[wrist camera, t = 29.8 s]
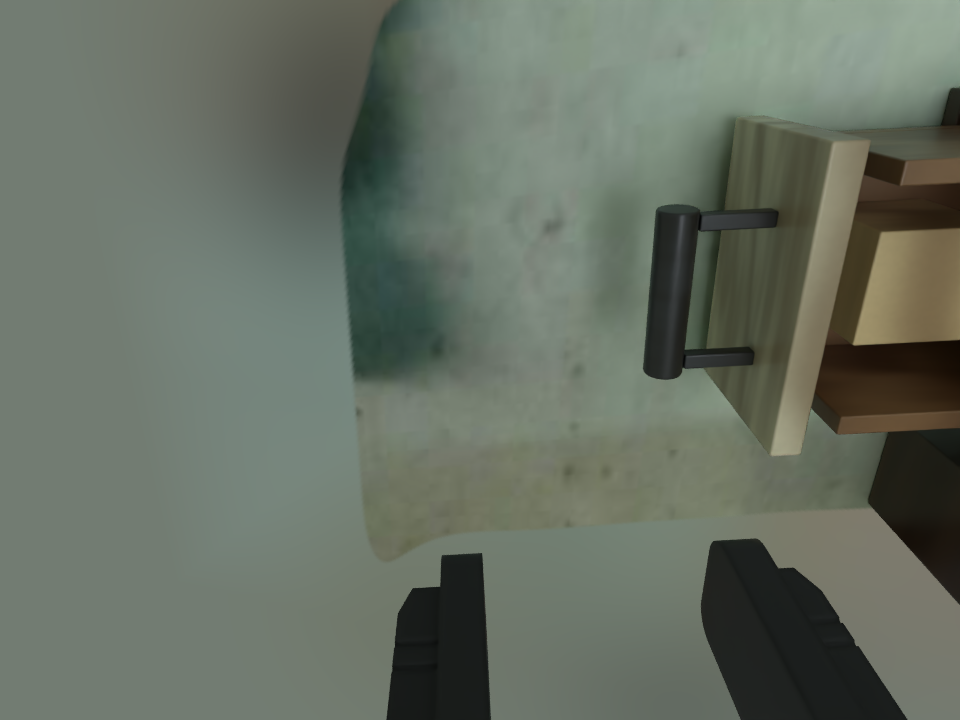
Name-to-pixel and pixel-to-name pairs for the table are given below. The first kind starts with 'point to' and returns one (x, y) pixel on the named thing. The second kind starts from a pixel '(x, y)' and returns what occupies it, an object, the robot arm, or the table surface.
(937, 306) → the block
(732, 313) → the drawer
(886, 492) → the post
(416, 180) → the table surface
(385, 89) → the table surface
